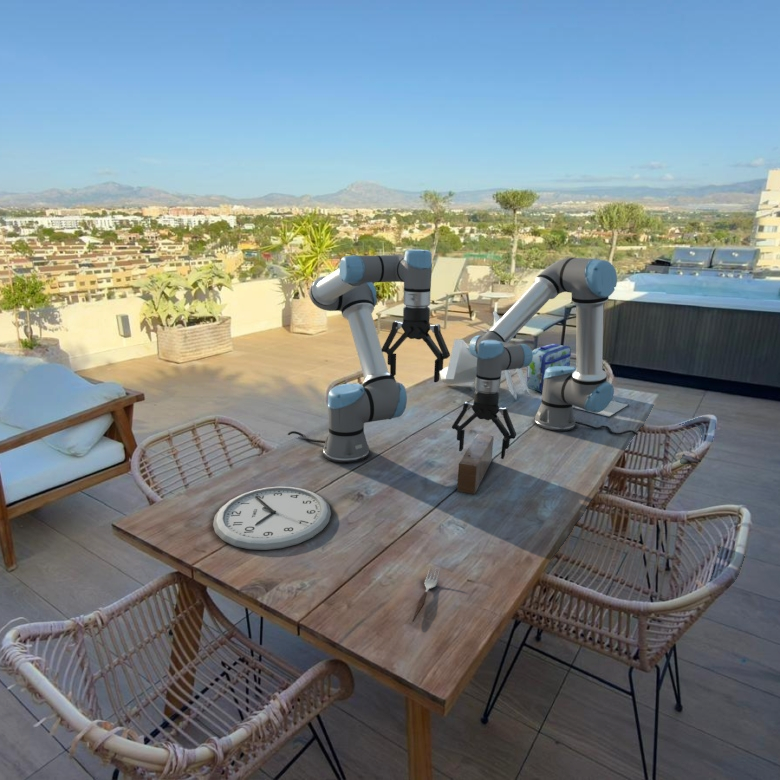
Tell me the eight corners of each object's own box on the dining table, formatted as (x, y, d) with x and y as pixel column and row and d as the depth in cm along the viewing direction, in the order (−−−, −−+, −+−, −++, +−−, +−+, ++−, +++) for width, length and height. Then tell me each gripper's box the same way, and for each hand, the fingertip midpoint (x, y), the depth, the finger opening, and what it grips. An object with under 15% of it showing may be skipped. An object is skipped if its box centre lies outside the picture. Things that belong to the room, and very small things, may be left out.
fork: (406, 621, 101) (406, 613, 100) (428, 573, 115) (429, 565, 115) (419, 625, 100) (419, 616, 99) (440, 576, 114) (440, 568, 114)
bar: (476, 458, 174) (477, 433, 171) (491, 461, 172) (493, 435, 169) (457, 491, 152) (458, 463, 149) (474, 494, 150) (476, 466, 147)
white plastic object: (461, 429, 252) (437, 405, 227) (444, 352, 274) (420, 323, 250) (535, 404, 240) (518, 377, 215) (510, 326, 262) (492, 293, 237)
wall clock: (329, 541, 123) (198, 546, 121) (329, 547, 124) (199, 552, 121) (332, 482, 152) (226, 484, 149) (332, 487, 152) (226, 489, 150)
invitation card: (608, 416, 214) (573, 407, 224) (608, 416, 214) (573, 408, 224) (628, 404, 229) (594, 396, 238) (628, 405, 229) (594, 397, 238)
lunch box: (542, 396, 239) (547, 351, 232) (522, 391, 246) (526, 347, 240) (570, 385, 256) (575, 343, 250) (550, 380, 263) (554, 339, 257)
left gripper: (370, 304, 149) (370, 376, 155) (456, 311, 140) (452, 386, 146) (381, 301, 155) (380, 370, 162) (463, 307, 147) (458, 380, 153)
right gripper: (445, 388, 163) (441, 450, 169) (526, 399, 155) (519, 465, 161) (451, 382, 170) (447, 442, 176) (529, 392, 161) (522, 455, 167)
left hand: (414, 378), depth 154 cm, fingers open, 13 cm apart
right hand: (481, 453), depth 168 cm, fingers open, 13 cm apart
